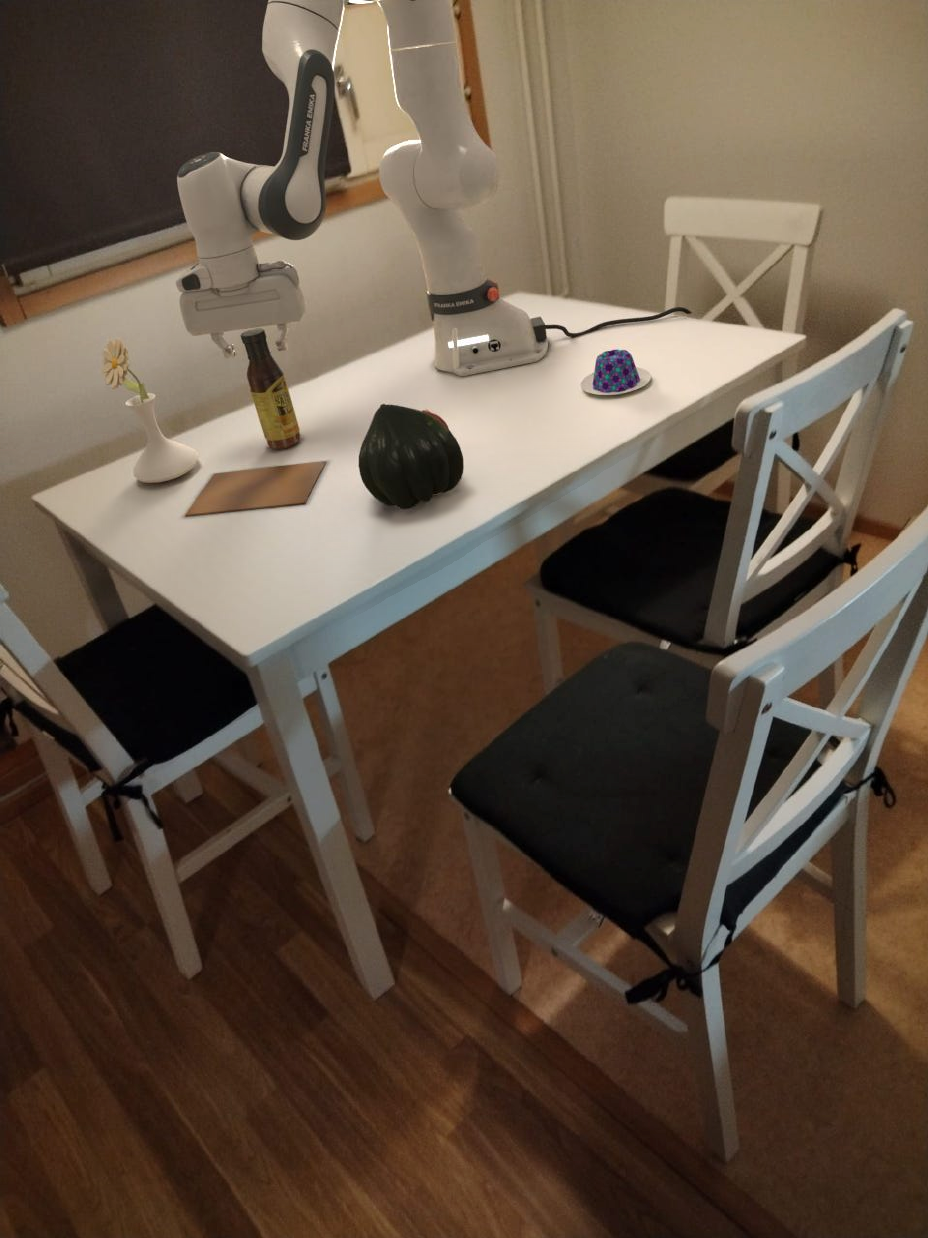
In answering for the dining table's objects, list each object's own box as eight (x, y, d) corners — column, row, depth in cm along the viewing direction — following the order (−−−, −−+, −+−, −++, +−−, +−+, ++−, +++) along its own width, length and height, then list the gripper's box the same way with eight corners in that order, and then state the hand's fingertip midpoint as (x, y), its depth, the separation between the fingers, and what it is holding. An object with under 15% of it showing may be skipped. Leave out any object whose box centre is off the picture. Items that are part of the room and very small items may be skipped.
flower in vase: (133, 472, 165) (75, 335, 151) (195, 451, 168) (144, 315, 154) (142, 499, 155) (81, 355, 141) (208, 477, 158) (155, 333, 143)
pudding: (593, 370, 166) (591, 341, 163) (659, 370, 161) (658, 341, 158) (571, 398, 158) (567, 368, 155) (640, 399, 153) (637, 369, 150)
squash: (478, 473, 129) (440, 376, 130) (376, 508, 127) (339, 409, 129) (469, 501, 143) (435, 412, 144) (377, 533, 141) (344, 443, 143)
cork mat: (326, 462, 154) (325, 460, 154) (305, 503, 143) (304, 502, 143) (214, 474, 158) (213, 473, 158) (185, 516, 147) (185, 514, 147)
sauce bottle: (295, 449, 161) (261, 337, 150) (262, 452, 162) (226, 341, 151) (307, 433, 166) (275, 323, 155) (275, 435, 168) (241, 327, 156)
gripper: (298, 253, 147) (321, 338, 155) (180, 271, 151) (207, 353, 159) (288, 264, 142) (311, 351, 150) (165, 283, 146) (195, 367, 154)
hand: (257, 353), depth 155 cm, fingers open, 8 cm apart
